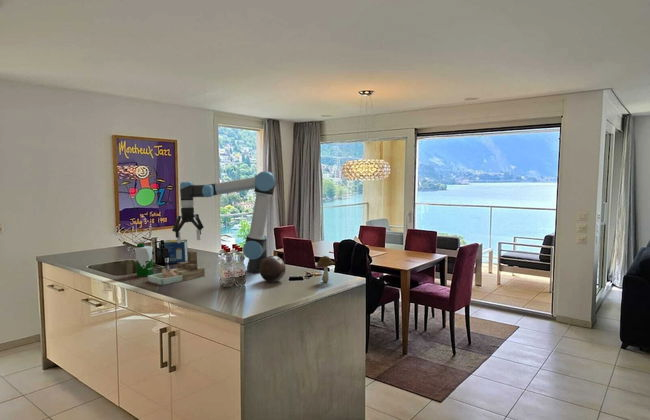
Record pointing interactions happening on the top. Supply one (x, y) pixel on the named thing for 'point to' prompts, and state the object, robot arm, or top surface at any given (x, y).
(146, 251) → the milk carton
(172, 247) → the protein box
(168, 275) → the tile
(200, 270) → the bench plate
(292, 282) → the top surface
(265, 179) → the robot arm
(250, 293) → the top surface
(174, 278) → the tray
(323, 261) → the mushroom
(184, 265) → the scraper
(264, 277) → the wooden sphere
